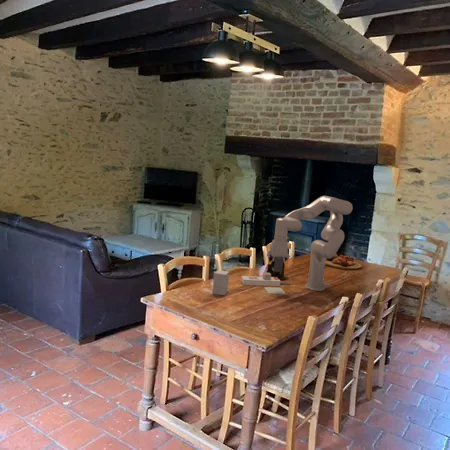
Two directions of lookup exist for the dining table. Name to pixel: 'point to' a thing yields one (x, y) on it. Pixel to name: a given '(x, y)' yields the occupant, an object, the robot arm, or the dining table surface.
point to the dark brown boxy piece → (275, 274)
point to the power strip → (261, 281)
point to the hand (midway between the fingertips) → (277, 267)
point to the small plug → (267, 276)
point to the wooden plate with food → (342, 262)
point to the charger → (278, 264)
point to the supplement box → (220, 282)
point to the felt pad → (274, 290)
